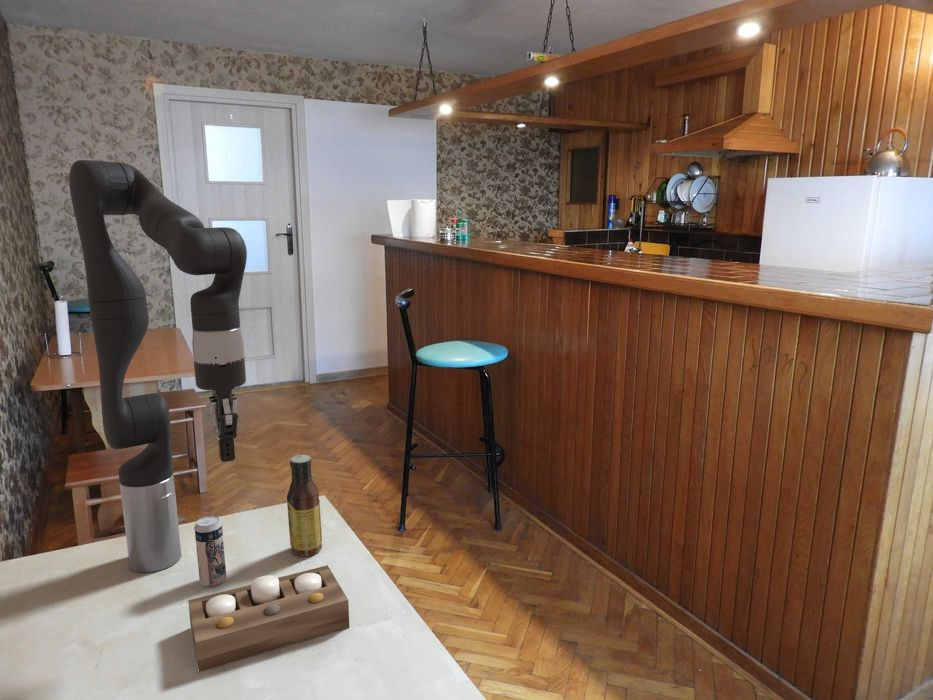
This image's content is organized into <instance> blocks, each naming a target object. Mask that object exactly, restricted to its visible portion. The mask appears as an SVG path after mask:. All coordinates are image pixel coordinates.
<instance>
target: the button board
mask: <svg viewBox="0 0 933 700" xmlns="http://www.w3.org/2000/svg"><path fill="white" fill-rule="evenodd" d="M306 573H316V574H319V575H320V576H321V583H322V588H319V589H316V590H312V591H308V592H304V593H301V594H297V595H296V593H295V579H296V578H297V577H298V576H300V575H302V574H306ZM277 578H278V579H279V589H280V599H278V600H274V601H271V602H267V603H263V604H259V605H253V603H252V593H251V584H248V585H247V584H246V585H243V586H240V587H235V588H232V589H227V590H223V591H219V592H216V593H212V594H208V595H204V596H201V597H196V598H192V599H188V602H187V603H188V610H189V611H188V613H189V621H190V631H191V634H192V641H193V648H194V654H195V659H196V663H197V664H196V665H197V671H198V670H199V671H198V673H202V672H205V671H208V669H209V670H212V669H215V668H217V667H218V666H219V667H222V666H225V665H228V663H229V664H232V663H235V662H239V661H242V660H244V659H248V658H251V657H255V656H258V655H262V654H265V653H268V652H272V651H275V650H278V649H282V648H284V647H289V646H291V645H295V644H298V643H302V642H305V641H309V640H312V639H315V638H318V637H322V636H325V635H328V634H331V633H335V632H338V631H342V630H344V629H349V628H350V609H349V608H350V607H349V599H348V597H347V596H346V594H345V592H344V590H343V588H342V587H341V585H340V584H339V582H338V580H337V579H336V576H335V575H334V573H333V572H332V570H331V569H330V567H329V565H328V564H327V565H324V566H323V565H322V566H319V567H315V568H312V569H308V570H307V569H306V570H303V571H300V572H296V573H291V574H287V575H284V576H280V577H279V576H278V577H277ZM219 595H231V596H233V597H234V598H235V603H236V611H233V612H229V613H225V614H222V615H218V616H214V617H210V618H207V612H206V603H207V602H208V601H209V600H210V599H211V598H213V597H215V596H219ZM201 671H202V672H201Z"/></svg>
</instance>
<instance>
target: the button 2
mask: <svg viewBox="0 0 933 700" xmlns="http://www.w3.org/2000/svg"><path fill="white" fill-rule="evenodd" d="M278 578H279V577H277V576H275V575H262V576H259V577H257V578H255V579H253V580H252V581H251V583H250V585H251V593H252V603H253V605H259V604H263V603H267V602H271V601H274V600H278V599H280V589H279V579H278Z"/></svg>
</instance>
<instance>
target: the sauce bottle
mask: <svg viewBox="0 0 933 700" xmlns="http://www.w3.org/2000/svg"><path fill="white" fill-rule="evenodd" d="M289 467H290V470H291V482H290V485H289V488H288V491H287V495H286V505H287V516H288V517H287V518H288V532H289V545H290V546H291V552H292V553H293V554H294V555H296V556H299V557H311V556H314V555H315V554H317V553H319V552H320V551H321V550H322V547H323V543H322V542H323V531H322V516H321V515H322V514H321V502H320V501H321V500H320V495H319V493H320V492H319V487H318V485H317V484H316V483H315V480H313V475H312V457H311V456H310V455H308V454H297V455H295V456H293V457H291V458H290V460H289Z"/></svg>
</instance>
